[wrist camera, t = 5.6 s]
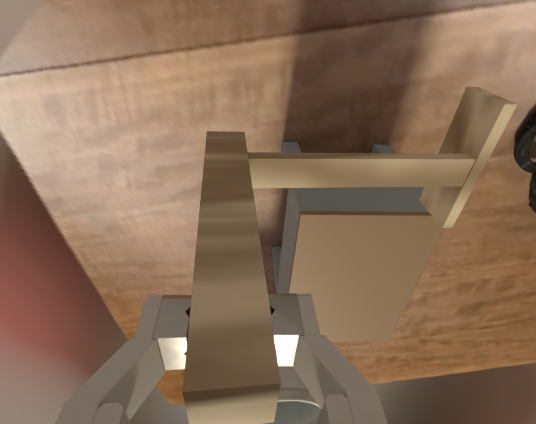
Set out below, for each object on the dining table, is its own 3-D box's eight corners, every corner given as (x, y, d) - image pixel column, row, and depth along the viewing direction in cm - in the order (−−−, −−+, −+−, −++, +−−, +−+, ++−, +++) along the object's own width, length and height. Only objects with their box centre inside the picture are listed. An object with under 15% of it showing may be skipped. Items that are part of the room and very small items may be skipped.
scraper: (204, 77, 18) (164, 306, 6) (477, 87, 21) (886, 265, 8) (210, 203, 24) (198, 468, 11) (427, 200, 26) (625, 415, 13)
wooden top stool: (282, 141, 40) (300, 214, 28) (388, 144, 42) (451, 215, 29) (272, 255, 52) (281, 343, 39) (354, 255, 53) (389, 340, 41)
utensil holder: (290, 290, 58) (306, 391, 43) (320, 331, 66) (342, 426, 52) (221, 317, 61) (215, 419, 47) (258, 352, 69) (262, 448, 55)
